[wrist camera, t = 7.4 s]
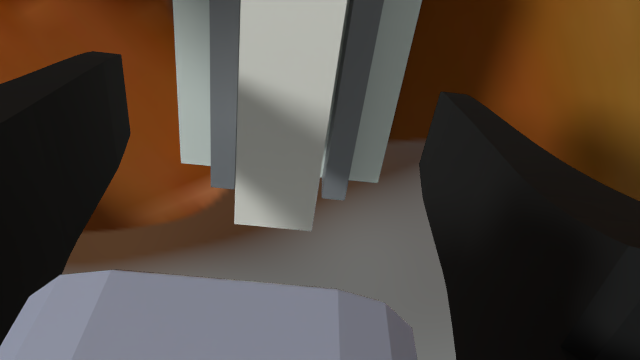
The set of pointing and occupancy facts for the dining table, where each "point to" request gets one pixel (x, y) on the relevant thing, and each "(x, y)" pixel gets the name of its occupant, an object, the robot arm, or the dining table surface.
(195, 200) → the dining table surface
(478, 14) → the dining table surface
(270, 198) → the door panel
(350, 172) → the track
